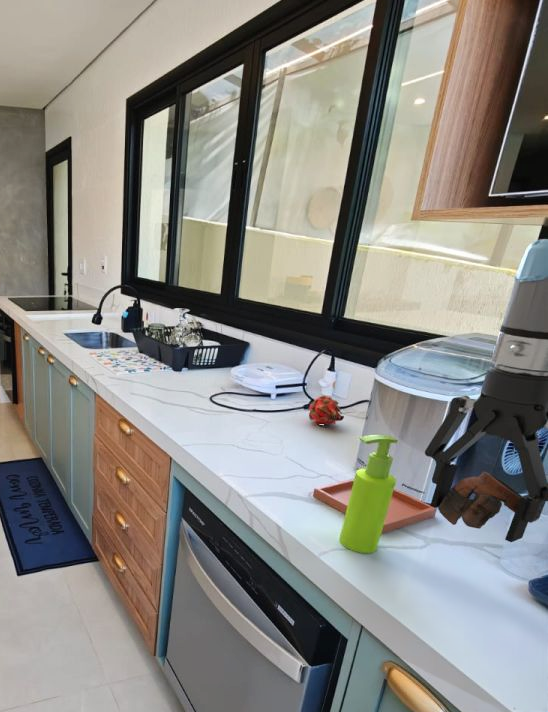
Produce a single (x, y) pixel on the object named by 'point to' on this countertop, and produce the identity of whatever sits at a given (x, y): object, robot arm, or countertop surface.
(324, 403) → the dragon fruit
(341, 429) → the countertop surface
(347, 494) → the tray
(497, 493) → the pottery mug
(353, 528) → the soap dispenser
